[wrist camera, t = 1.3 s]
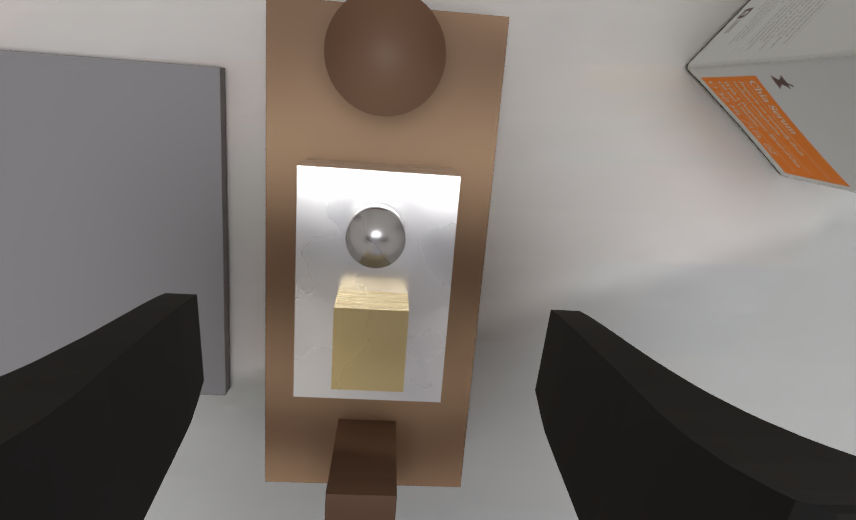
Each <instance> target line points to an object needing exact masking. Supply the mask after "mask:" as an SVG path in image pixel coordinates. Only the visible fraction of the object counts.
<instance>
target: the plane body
mask: <svg viewBox="0 0 856 520" xmlns="http://www.w3.org/2000/svg"><path fill="white" fill-rule="evenodd" d="M508 25H509V17H504V16H492V15H481V14H470V13H459V12H448V11H437V10H430V9H429V8H428V7H427V5H426V4H424V3H423V2H422V1H421V0H347V1H346V2H336V1H325V0H266V369H265V481H269V482H304V483H328V484H327V489H326V500H325V520H395V513H396V499H397V485H409V486H443V487H460V485H461V476H462V466H463V457H464V447H465V437H466V428H467V418H468V409H469V399H470V389H471V380H472V370H473V361H474V351H475V342H476V332H477V322H478V313H479V303H480V294H481V284H482V274H483V265H484V255H485V246H486V236H487V226H488V217H489V207H490V198H491V188H492V178H493V169H494V159H495V150H496V140H497V131H498V121H499V111H500V102H501V92H502V83H503V73H504V63H505V54H506V44H507V35H508ZM307 158H313V159H328V160H342V161H356V162H371V163H385V164H399V165H414V166H428V167H442V168H454V169H455V170H456V172H457V173H458V174H459V175H460V176H461V179H460V190H459V202H458V213H457V224H456V235H455V246H454V257H453V268H452V279H451V291H450V302H449V313H448V324H447V335H446V346H445V357H444V368H443V380H442V391H441V402H419V401H394V400H368V399H343V398H318V397H293V392H294V330H295V268H296V207H297V165H298V164H300V163H301V162H303V161H304V160H306V159H307Z"/></svg>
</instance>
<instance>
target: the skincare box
mask: <svg viewBox="0 0 856 520" xmlns="http://www.w3.org/2000/svg"><path fill="white" fill-rule="evenodd" d="M688 70H689V71H690V72H691V73H692V74H693V75H694V76H695V77H696V78H697V79H698V80H699V81H700V82H701V83H702V84H703V85H704V86H705V87H706V89H707V90H708V91H709V92H710V93H711V94H712V95H713V97H714V98H715V99H716V100H717V101H718V102H719V103H720V104H721V105H722V106H723V108H724V109H725V110H726V111H727V112H728V113H729V114H730V115H731V116H732V117H733V118H734V120H735V121H736V122H737V123H738V124H739V125H740V126H741V127H742V129H743V130H744V131H745V132H746V133H747V135H748V136H749V137H750V138H751V139H752V141H753V142H754V143H755V144H756V145H757V146H758V148H759V149H760V150H761V151H762V152H763V154H764V155H765V156H766V157H767V158H768V159H769V161H770V162H771V163H772V164H773V165H774V166H775V167H776V169H777V170H778V171H779V172H780V174H781V175H783V176H784V177H788V178H793V179H798V180H802V181H807V182H811V183H815V184H819V185H824V186H828V187H833V188H837V189H843V190H847V191H851V192H856V0H750V1H749V2H748V3H747V4H746V5H745V6H744V8H743V9H742V10H741V11H740V12H739V13H738V14H737V15H736V16H735V17H734V18H733V19H732V20H731V21H730V22H729V23H728V24H727V25H726V26H725V27H724V28H723V29H722V30H721V31H720V32H719V33H718V34H717V35H716V36H715V37H714V38H713V39H712V40H711V41H710V42H709V43H708V45H707V46H706V47H705V48H704V49H703V50H702V51H701V52H700V53H699V54H698V55H697V56H696V57H695V58H694V59H693V60H692V61H691V62H690V63H689V64H688Z"/></svg>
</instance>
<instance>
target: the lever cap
mask: <svg viewBox="0 0 856 520" xmlns="http://www.w3.org/2000/svg"><path fill="white" fill-rule="evenodd" d="M460 179H461V176H460V175H459V174H458V173H457V172H456V170H455V169H454V168H442V167H428V166H414V165H399V164H385V163H371V162H356V161H342V160H328V159H313V158H307V159H306V160H304V161H303V162H301V163H300V164H298V165H297V207H296V268H295V330H294V392H293V397H318V398H343V399H368V400H394V401H419V402H441V391H442V380H443V368H444V357H445V346H446V335H447V324H448V313H449V302H450V291H451V279H452V268H453V257H454V246H455V235H456V224H457V213H458V202H459V190H460Z"/></svg>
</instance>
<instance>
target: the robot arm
mask: <svg viewBox="0 0 856 520" xmlns="http://www.w3.org/2000/svg"><path fill="white" fill-rule="evenodd" d="M203 382H204V372H203V360H202V348H201V336H200V325H199V313H198V301H197V294H177V293H164V294H162V295H159V296H157V297H155V298H153V299H151V300H149V301H147V302H145V303H144V304H142V305H140V306H138V307H136V308H134V309H133V310H131V311H129V312H127V313H126V314H124V315H122V316H120V317H118V318H117V319H115V320H113V321H111V322H109V323H108V324H106V325H104V326H102V327H100V328H99V329H97V330H95V331H93V332H91V333H89V334H88V335H86V336H84V337H82V338H80V339H78V340H76V341H74V342H72V343H70V344H68V345H66V346H64V347H62V348H60V349H58V350H56V351H54V352H52V353H50V354H48V355H46V356H44V357H42V358H40V359H38V360H36V361H34V362H32V363H30V364H27V365H25V366H23V367H21V368H19V369H16V370H14V371H12V372H9V373H7V374H5V375H2V376H0V520H144V518H145V516H146V514H147V512H148V510H149V508H150V506H151V504H152V502H153V499H154V497H155V495H156V493H157V491H158V489H159V487H160V485H161V483H162V481H163V479H164V477H165V475H166V473H167V471H168V469H169V467H170V465H171V463H172V461H173V459H174V457H175V455H176V453H177V451H178V448H179V446H180V444H181V442H182V440H183V438H184V436H185V434H186V432H187V430H188V427H189V425H190V423H191V420H192V417H193V414H194V411H195V408H196V405H197V402H198V399H199V396H200V392H201V389H202V386H203ZM535 391H536V396H537V400H538V405H539V410H540V414H541V418H542V422H543V426H544V430H545V433H546V436H547V439H548V442H549V444H550V447H551V450H552V452H553V455H554V457H555V460H556V463H557V465H558V468H559V470H560V473H561V475H562V478H563V480H564V483H565V486H566V488H567V491H568V493H569V496H570V498H571V501H572V503H573V506H574V509H575V511H576V514H577V516H578V519H579V520H856V456H854V455H851V454H848V453H845V452H842V451H840V450H837V449H834V448H831V447H828V446H826V445H823V444H820V443H818V442H815V441H812V440H810V439H807V438H804V437H802V436H799V435H797V434H795V433H792V432H790V431H788V430H785V429H783V428H781V427H778V426H776V425H773V424H771V423H769V422H766V421H764V420H762V419H760V418H758V417H755V416H753V415H751V414H749V413H747V412H745V411H743V410H741V409H739V408H737V407H735V406H733V405H731V404H729V403H727V402H725V401H723V400H721V399H719V398H717V397H715V396H713V395H711V394H709V393H708V392H706V391H704V390H702V389H700V388H699V387H697V386H695V385H693V384H692V383H690V382H688V381H687V380H685V379H683V378H682V377H680V376H678V375H677V374H675V373H673V372H672V371H670V370H668V369H667V368H665V367H664V366H662V365H661V364H659V363H658V362H656V361H654V360H653V359H651V358H650V357H648V356H647V355H645V354H644V353H642V352H641V351H639V350H638V349H637V348H635V347H634V346H632V345H631V344H629V343H628V342H626V341H625V340H623V339H622V338H621V337H619V336H618V335H616V334H615V333H613V332H612V331H610V330H609V329H607V328H606V327H605V326H603V325H602V324H600V323H599V322H597V321H596V320H594V319H592V318H591V317H589V316H588V315H586V314H584V313H582V312H580V311H566V310H551V313H550V318H549V323H548V328H547V333H546V338H545V343H544V348H543V353H542V359H541V364H540V369H539V374H538V379H537V384H536V389H535Z"/></svg>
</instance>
